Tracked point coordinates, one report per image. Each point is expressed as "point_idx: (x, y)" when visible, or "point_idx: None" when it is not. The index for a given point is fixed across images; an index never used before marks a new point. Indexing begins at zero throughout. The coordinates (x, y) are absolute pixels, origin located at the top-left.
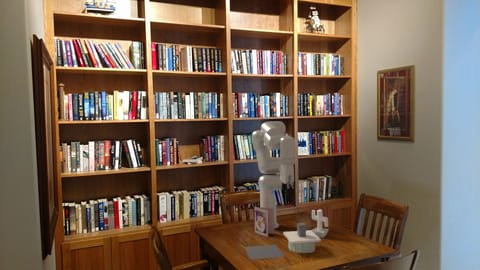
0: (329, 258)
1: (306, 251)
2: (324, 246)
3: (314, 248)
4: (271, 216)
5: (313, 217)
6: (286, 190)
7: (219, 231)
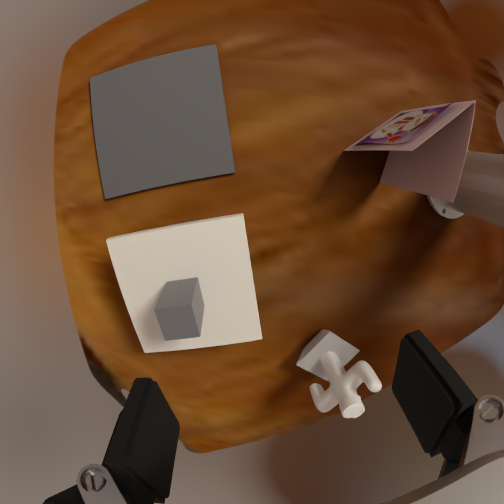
0: (120, 335)
1: None
2: None
3: None
4: (426, 182)
5: (356, 369)
6: (396, 383)
7: (401, 3)
